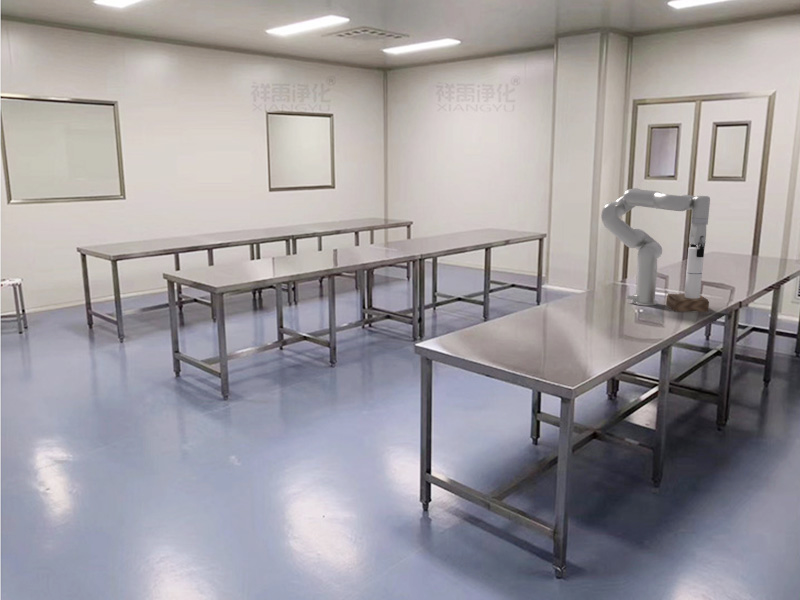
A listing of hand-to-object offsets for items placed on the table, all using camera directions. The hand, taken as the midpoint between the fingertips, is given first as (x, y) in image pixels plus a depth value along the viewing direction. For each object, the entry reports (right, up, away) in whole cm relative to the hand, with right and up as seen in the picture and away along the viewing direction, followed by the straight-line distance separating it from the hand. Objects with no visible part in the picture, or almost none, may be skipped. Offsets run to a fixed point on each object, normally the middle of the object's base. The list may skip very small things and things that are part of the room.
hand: (696, 255), depth 315 cm
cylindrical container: (0, -21, +5) cm, 21 cm away
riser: (-2, -26, +7) cm, 27 cm away
